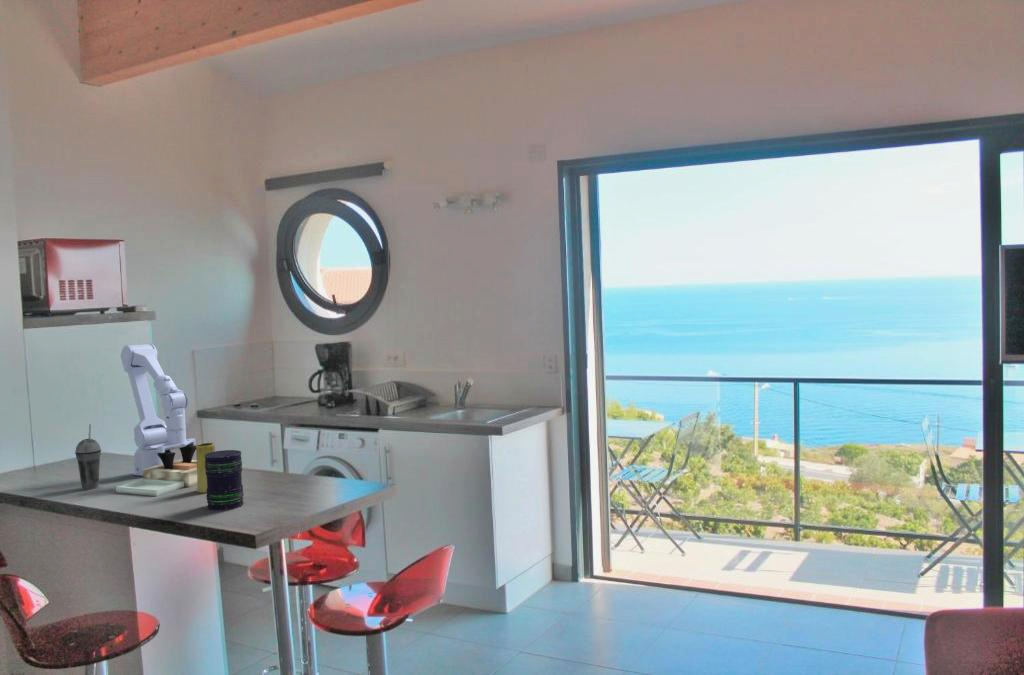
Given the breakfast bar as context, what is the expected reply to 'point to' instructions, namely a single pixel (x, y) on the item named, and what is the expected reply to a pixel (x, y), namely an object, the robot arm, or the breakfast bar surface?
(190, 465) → the slab
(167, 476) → the block
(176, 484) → the tray
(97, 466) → the beverage cup
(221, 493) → the storage jar
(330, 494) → the breakfast bar surface
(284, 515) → the breakfast bar surface
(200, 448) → the vase
